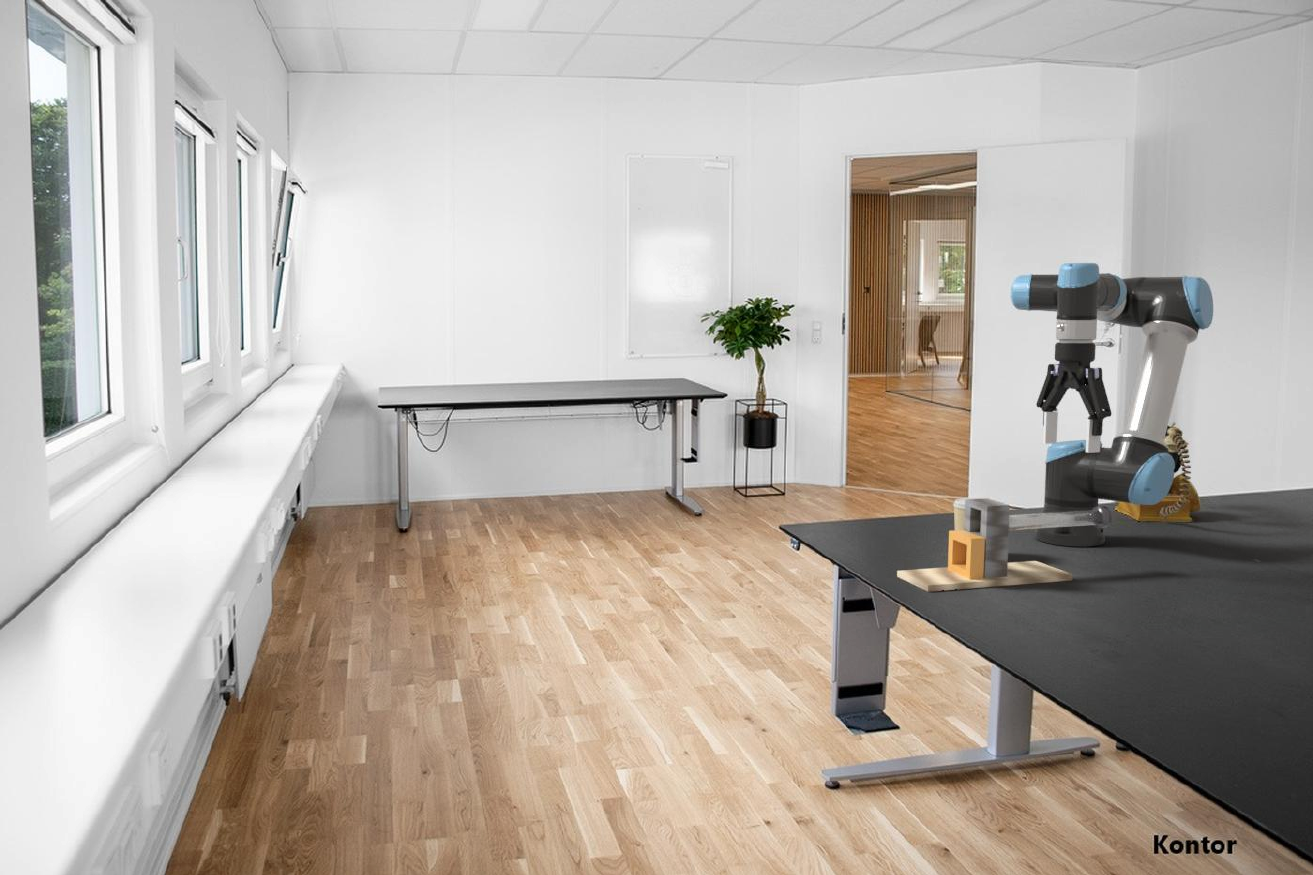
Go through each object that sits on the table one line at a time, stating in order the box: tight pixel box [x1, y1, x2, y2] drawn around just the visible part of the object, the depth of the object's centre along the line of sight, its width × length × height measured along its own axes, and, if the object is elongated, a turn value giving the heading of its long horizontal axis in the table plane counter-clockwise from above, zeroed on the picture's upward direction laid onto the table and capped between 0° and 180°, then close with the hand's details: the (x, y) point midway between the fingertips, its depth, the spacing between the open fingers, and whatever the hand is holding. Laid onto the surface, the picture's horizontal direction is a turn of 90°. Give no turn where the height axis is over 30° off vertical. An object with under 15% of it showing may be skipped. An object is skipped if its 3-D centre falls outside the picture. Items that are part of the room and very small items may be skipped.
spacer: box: [947, 529, 985, 579], centre depth 219 cm, size 3×8×8 cm, turn 16°
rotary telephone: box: [1114, 421, 1202, 522], centre depth 279 cm, size 35×18×25 cm, turn 177°
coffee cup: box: [953, 497, 982, 530], centre depth 240 cm, size 9×9×12 cm
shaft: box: [1009, 505, 1113, 531], centre depth 223 cm, size 28×4×4 cm, turn 106°
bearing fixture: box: [896, 497, 1073, 593], centre depth 220 cm, size 32×12×15 cm, turn 106°
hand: (1070, 447), depth 223 cm, fingers open, 13 cm apart
